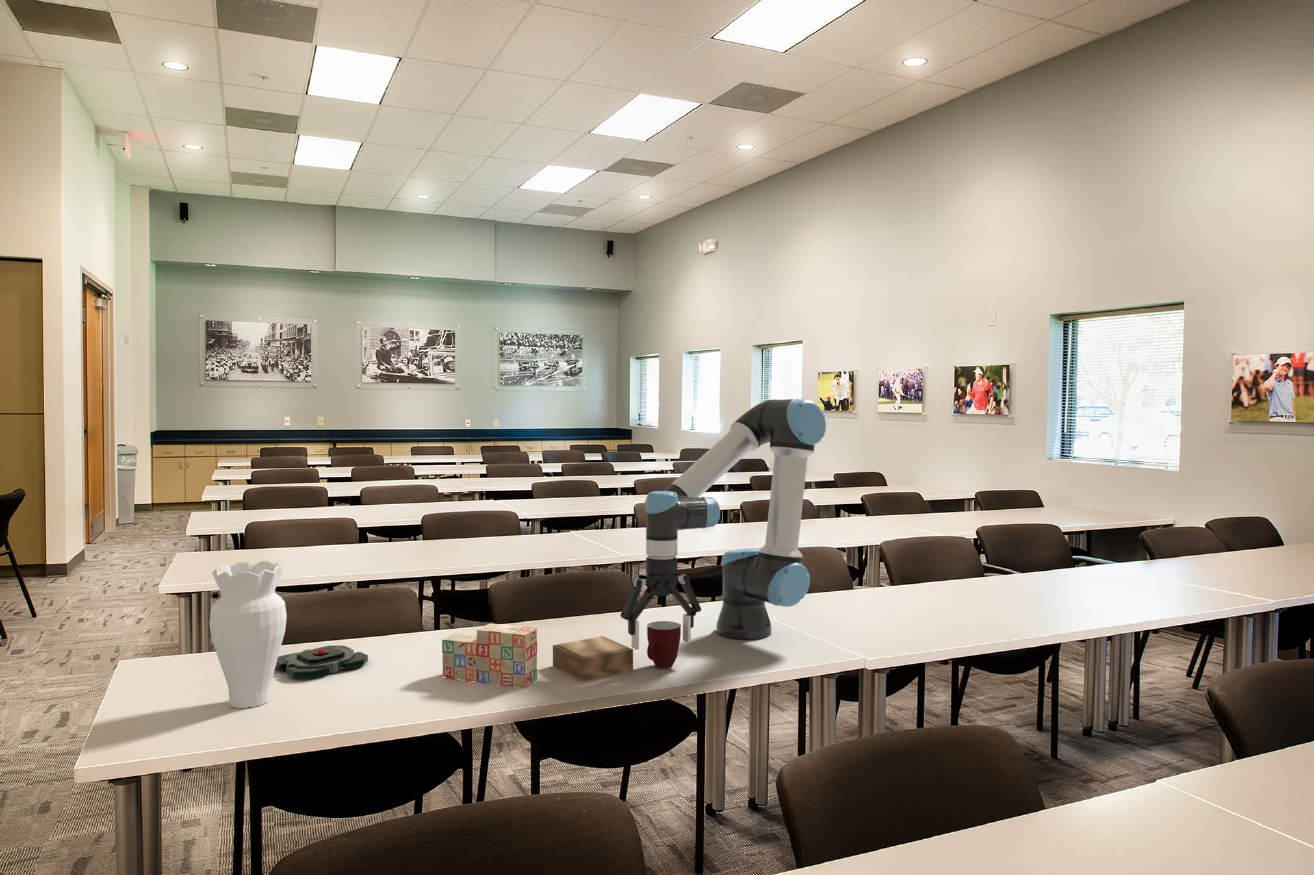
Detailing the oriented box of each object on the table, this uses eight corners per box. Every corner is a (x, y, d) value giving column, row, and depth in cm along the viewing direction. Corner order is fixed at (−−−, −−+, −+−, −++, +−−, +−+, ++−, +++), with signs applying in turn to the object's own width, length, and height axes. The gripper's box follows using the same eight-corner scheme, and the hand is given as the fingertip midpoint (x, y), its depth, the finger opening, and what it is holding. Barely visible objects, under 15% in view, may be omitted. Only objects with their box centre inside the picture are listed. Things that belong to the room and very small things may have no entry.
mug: (667, 676, 195) (667, 633, 195) (636, 671, 199) (636, 629, 198) (686, 664, 205) (686, 623, 204) (656, 659, 208) (656, 619, 208)
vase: (237, 719, 169) (234, 575, 168) (196, 706, 177) (193, 568, 176) (302, 698, 181) (300, 563, 180) (261, 686, 189) (259, 557, 188)
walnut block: (602, 655, 212) (602, 635, 211) (633, 670, 200) (633, 648, 200) (552, 665, 204) (552, 644, 203) (581, 681, 192) (581, 658, 192)
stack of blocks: (441, 679, 194) (441, 626, 194) (456, 671, 200) (455, 619, 200) (525, 688, 187) (524, 634, 187) (538, 680, 193) (537, 627, 193)
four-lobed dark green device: (374, 667, 204) (373, 648, 204) (300, 685, 191) (299, 665, 191) (339, 652, 216) (338, 635, 216) (267, 669, 203) (267, 650, 203)
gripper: (700, 550, 209) (700, 635, 210) (607, 557, 199) (606, 646, 200) (715, 555, 203) (714, 642, 203) (619, 562, 192) (618, 655, 193)
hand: (661, 645), depth 202 cm, fingers open, 13 cm apart
